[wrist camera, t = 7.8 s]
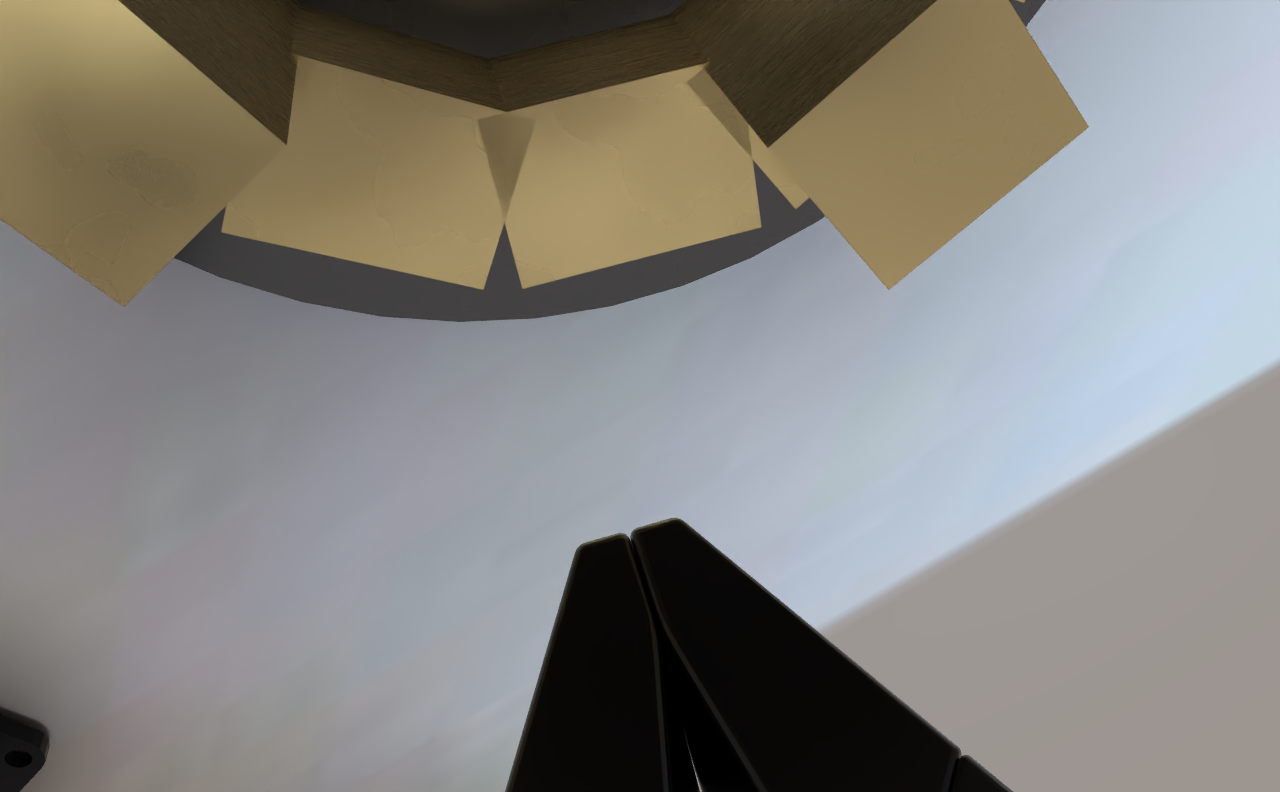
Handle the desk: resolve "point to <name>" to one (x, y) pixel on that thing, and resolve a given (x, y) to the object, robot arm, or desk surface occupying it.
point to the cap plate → (493, 26)
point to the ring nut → (510, 132)
